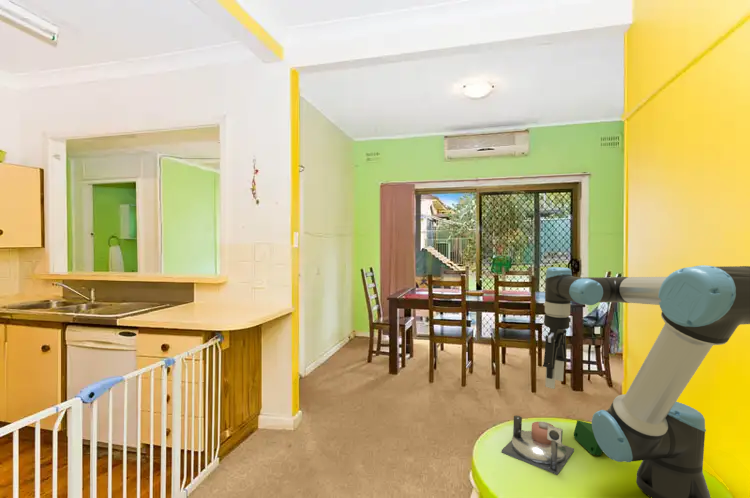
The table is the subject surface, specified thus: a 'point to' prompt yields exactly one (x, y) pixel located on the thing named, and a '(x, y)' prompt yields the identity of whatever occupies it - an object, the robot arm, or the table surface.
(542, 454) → the turntable
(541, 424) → the cover
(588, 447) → the clamp
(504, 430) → the table surface
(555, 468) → the turntable base
